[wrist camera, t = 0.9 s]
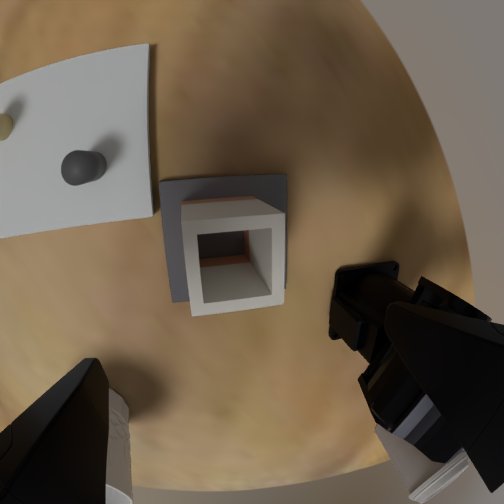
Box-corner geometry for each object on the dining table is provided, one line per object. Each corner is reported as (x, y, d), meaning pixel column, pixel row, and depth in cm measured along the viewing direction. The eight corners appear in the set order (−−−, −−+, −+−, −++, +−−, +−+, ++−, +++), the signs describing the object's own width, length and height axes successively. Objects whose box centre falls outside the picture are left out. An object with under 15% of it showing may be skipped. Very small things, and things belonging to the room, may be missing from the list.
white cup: (43, 376, 19) (11, 460, 9) (114, 369, 20) (98, 471, 11) (82, 429, 21) (70, 507, 12) (147, 425, 23) (150, 512, 14)
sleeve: (252, 196, 18) (284, 213, 12) (253, 262, 19) (283, 304, 14) (181, 201, 17) (181, 221, 11) (187, 269, 18) (191, 316, 13)
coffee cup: (426, 395, 34) (481, 453, 20) (389, 437, 36) (434, 496, 22) (395, 394, 31) (460, 468, 17) (354, 441, 32) (402, 515, 19)
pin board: (150, 49, 14) (143, 23, 10) (154, 213, 17) (147, 228, 14) (-19, 97, 11) (-48, 91, 7) (-12, 238, 14) (-41, 255, 11)
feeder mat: (283, 173, 18) (286, 174, 18) (283, 285, 21) (285, 288, 20) (159, 181, 17) (158, 182, 16) (172, 298, 19) (172, 302, 19)
